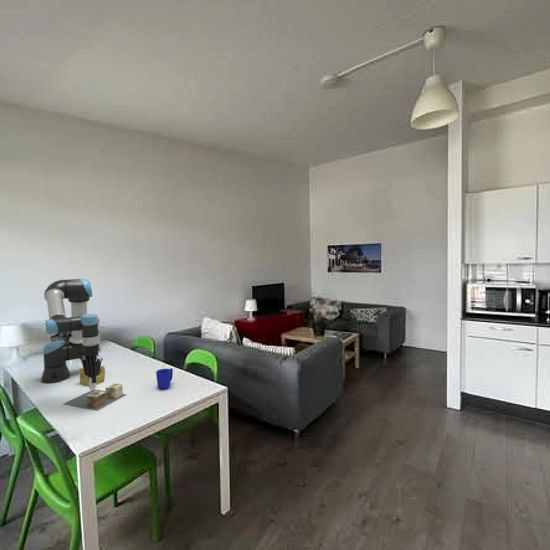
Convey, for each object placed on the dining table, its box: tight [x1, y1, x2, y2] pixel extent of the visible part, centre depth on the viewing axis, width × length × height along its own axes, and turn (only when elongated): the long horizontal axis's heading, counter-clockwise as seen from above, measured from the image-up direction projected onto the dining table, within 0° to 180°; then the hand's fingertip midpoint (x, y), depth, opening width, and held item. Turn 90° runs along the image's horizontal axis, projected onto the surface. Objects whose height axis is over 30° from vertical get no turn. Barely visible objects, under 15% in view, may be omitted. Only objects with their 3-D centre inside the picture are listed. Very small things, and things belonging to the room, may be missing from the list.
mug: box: [155, 367, 174, 390], centre depth 194 cm, size 8×12×10 cm
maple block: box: [104, 382, 124, 399], centre depth 180 cm, size 6×6×6 cm
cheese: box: [79, 365, 106, 388], centre depth 201 cm, size 10×11×10 cm
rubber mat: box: [62, 388, 128, 412], centre depth 177 cm, size 24×20×1 cm
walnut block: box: [87, 390, 106, 408], centre depth 170 cm, size 6×6×6 cm
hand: (92, 388), depth 170 cm, fingers closed
